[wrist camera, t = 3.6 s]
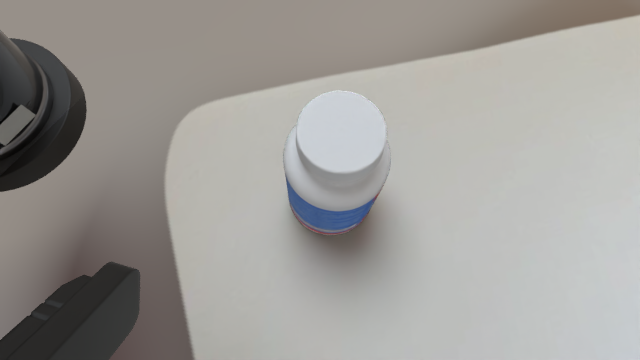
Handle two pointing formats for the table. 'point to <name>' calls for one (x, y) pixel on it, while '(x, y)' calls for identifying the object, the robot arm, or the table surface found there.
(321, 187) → the pill bottle
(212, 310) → the table surface
